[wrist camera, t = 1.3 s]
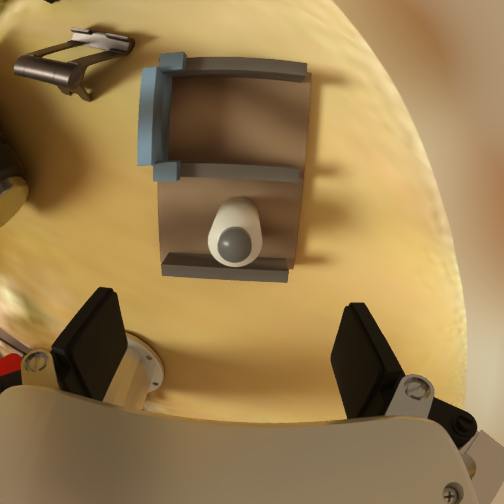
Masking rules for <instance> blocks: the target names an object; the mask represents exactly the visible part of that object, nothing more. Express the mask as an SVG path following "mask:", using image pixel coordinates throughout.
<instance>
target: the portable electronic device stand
mask: <svg viewBox="0 0 504 504" xmlns="http://www.w3.org/2000/svg"><path fill="white" fill-rule="evenodd" d="M71 31H72V32H73V36H72V40H70V41H68V42H67V43H63V44H59V45H55V46H52V47H48V48H45V49H41V50H38V51H35V52H32V53H28V54H26V55H23V56H21V57H20V58H19V59H18V60H17V61H16V63H15V65H14V73H15V75H18V76H22V77H27V78H31V79H35V80H39V81H43V82H47V83H50V84H54V85H57V86H58V88H59V89H60V90H61V91H62V93H64V94H66V95H70V96H71V92H73V93H76V94H78V95H79V96H80V97H81V98H82V99H83V100H85V101H88V102H90V101H91V100H92V99H91V98H90V96H89V95H88V93H87V92H86V90H85V89H84V87H83V85H82V84H81V82H82V80H83V78H84V74H85V71H86V69H87V67H88V66H90V65H92V64H95V63H99V62H102V61H106V60H109V59H113V58H117V57H121V56H125V55H128V54H130V53H131V51H132V50H133V48H134V46H135V40H134V39H132V38H129V37H125V36H121V35H116V34H111V33H103V32H97V31H92V30H87V29H79V28H71ZM81 45H85V46H90V47H95V48H100V49H104V50H109V51H105V52H101V53H97V54H93V55H89V56H86V57H82V58H79V59H75V60H72V61H69V62H66V63H65V62H61V61H56V60H50V59H45V58H42V57H43V56H45V55H48V54H51V53H54V52H58V51H61V50H65V49H69V48H73V47H77V46H81Z"/></svg>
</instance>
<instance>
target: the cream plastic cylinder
mask: <svg viewBox="0 0 504 504" xmlns="http://www.w3.org/2000/svg"><path fill="white" fill-rule="evenodd" d="M208 246H209V250H210V252H211V254H212V255H213V257H214V258H215V259H216V260H217V261H219V262H220V263H222V264H224V265H226V266H230V267H241V266H245V265H247V264H249V263H251V262H252V261H253V260H255V259H256V257H257V256H258V255H259V253H260V251H261V248H262V234H261V227H260V221H259V214H258V210H257V208H256V206H255V205H254V203H253V202H252V201H250V200H249V199H247V198H244V197H232V198H229V199H227V200H225V201H224V202H223V203H222V204H221V206H220V207H219V210H218V212H217V215H216V217H215V220H214V222H213V225H212V227H211V230H210V233H209V236H208Z"/></svg>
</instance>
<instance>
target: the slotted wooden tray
mask: <svg viewBox="0 0 504 504" xmlns="http://www.w3.org/2000/svg"><path fill="white" fill-rule="evenodd" d="M310 89H311V73H308V72H307V63H300V62H293V61H284V60H274V59H262V58H243V57H196V58H187V55H186V54H185V53H184V52H176V53H165V54H160V59H159V68H158V67H148V68H143V69H142V78H141V90H140V103H139V120H138V166H151V165H153V181H158V222H159V242H160V258H161V262H162V264H161V268H162V276H174V277H188V278H204V279H221V280H240V281H260V282H283V283H287V281H288V274H289V270H288V269H293V267H294V260H295V252H296V244H297V236H298V227H299V218H300V209H301V200H302V190H303V180H304V170H305V159H306V147H307V134H308V121H309V106H310ZM232 197H244V198H247V199H249V200H250V201H252V202H253V203H254V205H255V206H256V208H257V210H258V214H259V221H260V227H261V234H262V248H261V251H260V253H259V255H258V256H257V257H256V259H255V260H253V261H252V262H251V263H249V264H247V265H245V266H241V267H230V266H226V265H224V264H222V263H220V262H219V261H217V260H216V259H215V258H214V257H213V255H212V254H211V252H210V250H209V246H208V236H209V233H210V230H211V227H212V225H213V222H214V220H215V217H216V215H217V212H218V210H219V207H220V206H221V204H222V203H223V202H224V201H225V200H227V199H229V198H232Z"/></svg>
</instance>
